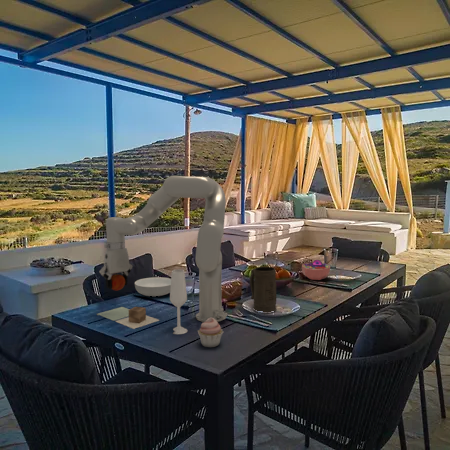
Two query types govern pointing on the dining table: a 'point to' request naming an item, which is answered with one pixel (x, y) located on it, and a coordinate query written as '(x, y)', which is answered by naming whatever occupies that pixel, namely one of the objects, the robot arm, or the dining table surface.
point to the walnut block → (137, 314)
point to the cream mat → (136, 325)
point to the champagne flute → (178, 296)
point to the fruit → (117, 282)
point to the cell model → (316, 270)
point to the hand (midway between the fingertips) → (117, 286)
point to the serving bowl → (153, 286)
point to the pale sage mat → (115, 313)
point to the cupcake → (210, 333)
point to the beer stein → (263, 289)
